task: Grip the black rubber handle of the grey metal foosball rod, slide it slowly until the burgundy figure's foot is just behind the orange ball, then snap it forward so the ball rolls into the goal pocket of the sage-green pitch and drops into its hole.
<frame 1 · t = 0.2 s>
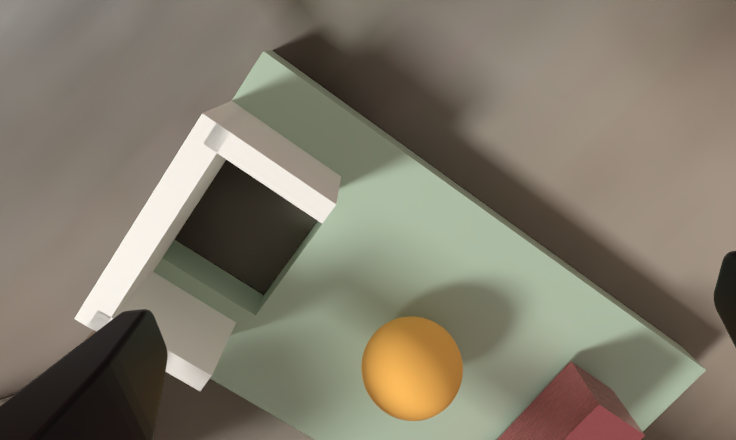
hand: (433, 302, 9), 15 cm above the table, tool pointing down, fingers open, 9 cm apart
ball: (411, 367, 22), point 4 cm above the table, touching foosball frame
foosball frame: (404, 320, 26), on the table
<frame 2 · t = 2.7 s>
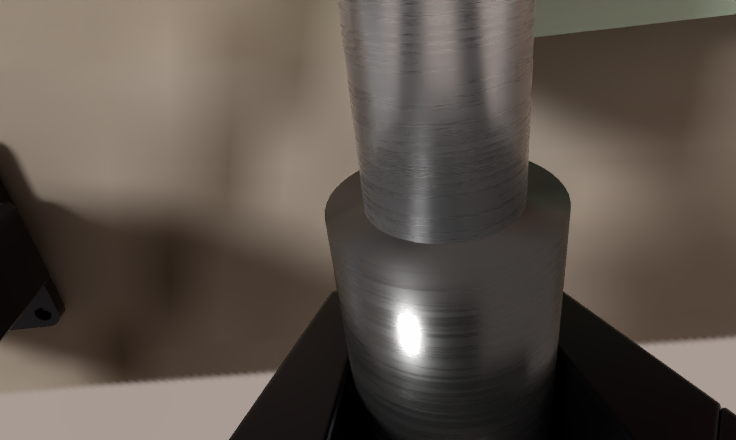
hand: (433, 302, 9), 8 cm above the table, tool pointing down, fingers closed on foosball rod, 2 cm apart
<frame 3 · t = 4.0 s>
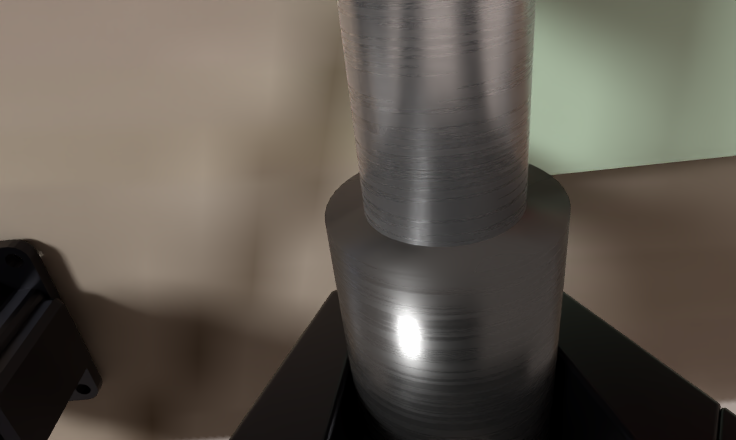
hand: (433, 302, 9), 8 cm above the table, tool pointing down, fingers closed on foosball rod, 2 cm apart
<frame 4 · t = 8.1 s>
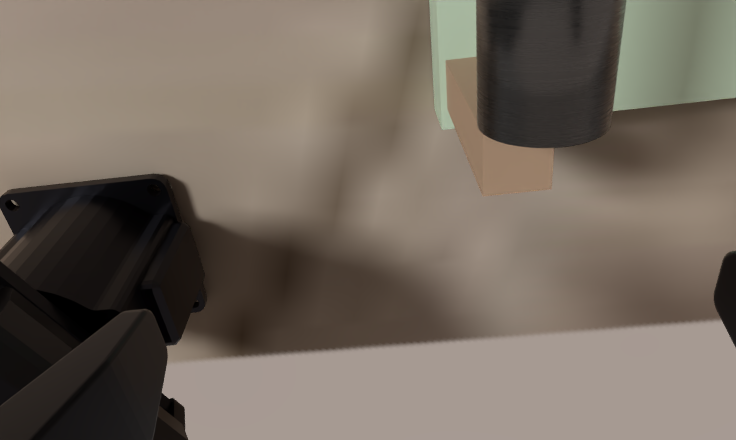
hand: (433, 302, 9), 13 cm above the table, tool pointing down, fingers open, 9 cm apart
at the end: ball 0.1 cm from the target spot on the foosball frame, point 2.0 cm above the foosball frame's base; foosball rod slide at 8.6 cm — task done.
